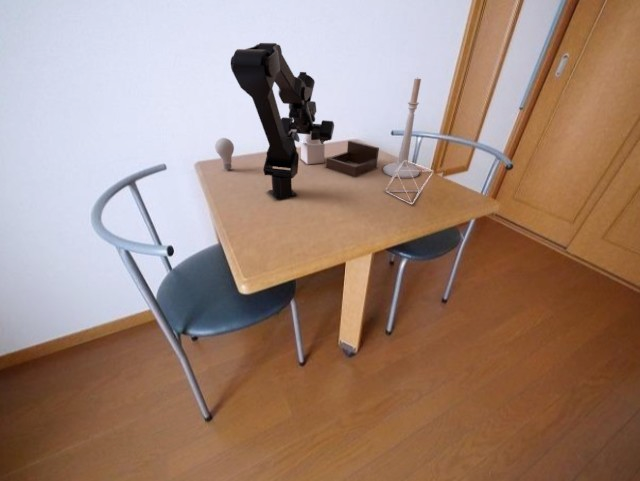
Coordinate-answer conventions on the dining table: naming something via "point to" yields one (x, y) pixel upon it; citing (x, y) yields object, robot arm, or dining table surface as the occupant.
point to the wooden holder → (354, 159)
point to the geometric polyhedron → (413, 179)
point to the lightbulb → (225, 151)
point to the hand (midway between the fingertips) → (310, 141)
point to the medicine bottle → (312, 149)
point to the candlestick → (406, 141)
